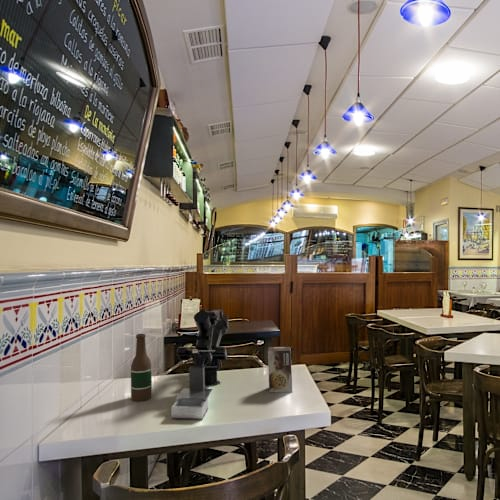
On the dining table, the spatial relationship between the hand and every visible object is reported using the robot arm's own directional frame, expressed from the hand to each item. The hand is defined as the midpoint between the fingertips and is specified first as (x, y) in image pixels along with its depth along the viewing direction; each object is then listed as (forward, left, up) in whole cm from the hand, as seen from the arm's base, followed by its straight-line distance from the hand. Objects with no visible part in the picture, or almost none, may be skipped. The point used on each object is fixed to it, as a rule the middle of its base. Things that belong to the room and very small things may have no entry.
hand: (198, 373), depth 137 cm
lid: (+6, -4, -5) cm, 9 cm away
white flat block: (+11, -7, -10) cm, 16 cm away
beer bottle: (-14, -18, -10) cm, 25 cm away
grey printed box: (+7, +31, -10) cm, 34 cm away
